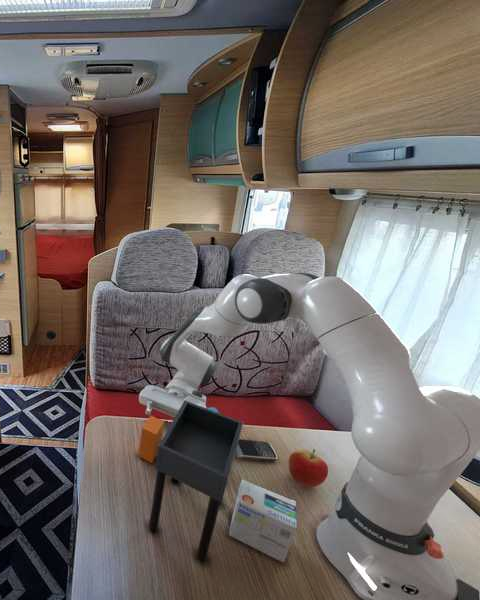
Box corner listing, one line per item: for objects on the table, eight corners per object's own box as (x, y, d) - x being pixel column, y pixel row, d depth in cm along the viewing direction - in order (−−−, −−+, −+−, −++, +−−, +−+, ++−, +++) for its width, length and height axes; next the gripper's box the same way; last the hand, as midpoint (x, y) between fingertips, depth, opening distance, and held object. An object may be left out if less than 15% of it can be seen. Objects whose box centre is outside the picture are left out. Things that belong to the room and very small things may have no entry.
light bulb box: (284, 535, 71) (297, 500, 67) (284, 565, 66) (298, 529, 62) (231, 510, 76) (241, 476, 72) (227, 536, 71) (237, 501, 67)
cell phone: (278, 462, 89) (279, 458, 89) (236, 459, 90) (237, 455, 89) (268, 445, 95) (269, 441, 94) (229, 441, 96) (229, 438, 95)
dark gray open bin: (238, 444, 72) (243, 422, 69) (221, 502, 59) (227, 478, 57) (181, 420, 78) (184, 400, 76) (155, 468, 65) (158, 445, 63)
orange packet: (160, 448, 93) (164, 421, 89) (152, 463, 88) (156, 434, 84) (147, 442, 95) (150, 415, 91) (138, 456, 90) (141, 428, 87)
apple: (279, 479, 84) (289, 449, 81) (290, 462, 89) (300, 434, 86) (315, 501, 79) (328, 471, 75) (325, 482, 84) (337, 453, 80)
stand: (222, 501, 78) (236, 444, 72) (204, 564, 66) (220, 501, 59) (172, 476, 84) (181, 421, 78) (147, 529, 72) (156, 468, 65)
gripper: (149, 376, 111) (131, 397, 100) (211, 398, 100) (199, 425, 90) (147, 391, 113) (129, 414, 102) (208, 415, 103) (195, 442, 92)
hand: (162, 419), depth 96 cm, fingers open, 8 cm apart
